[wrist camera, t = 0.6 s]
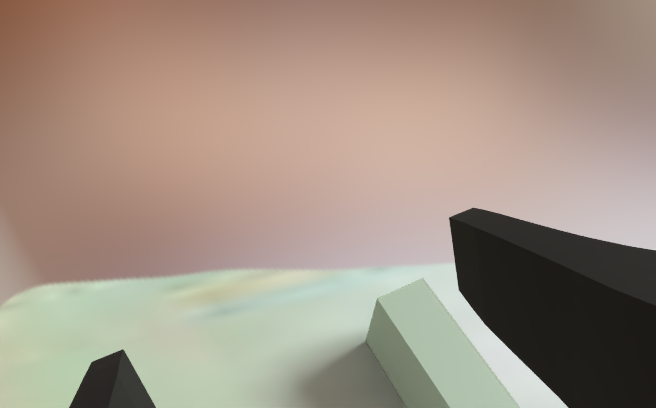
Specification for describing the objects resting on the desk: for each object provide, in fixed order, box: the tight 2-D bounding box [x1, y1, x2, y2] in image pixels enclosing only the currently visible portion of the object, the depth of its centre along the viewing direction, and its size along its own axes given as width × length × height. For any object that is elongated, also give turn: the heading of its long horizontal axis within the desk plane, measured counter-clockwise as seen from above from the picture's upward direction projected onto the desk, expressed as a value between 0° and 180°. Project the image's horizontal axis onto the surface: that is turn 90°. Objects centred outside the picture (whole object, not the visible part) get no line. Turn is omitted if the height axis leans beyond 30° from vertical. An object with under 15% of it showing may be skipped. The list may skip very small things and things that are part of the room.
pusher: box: [366, 278, 520, 408], centre depth 28 cm, size 10×3×5 cm, turn 29°
